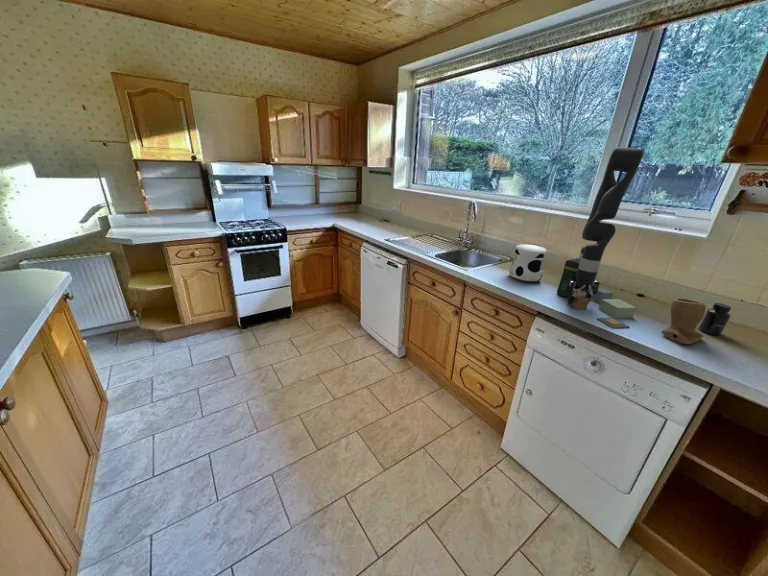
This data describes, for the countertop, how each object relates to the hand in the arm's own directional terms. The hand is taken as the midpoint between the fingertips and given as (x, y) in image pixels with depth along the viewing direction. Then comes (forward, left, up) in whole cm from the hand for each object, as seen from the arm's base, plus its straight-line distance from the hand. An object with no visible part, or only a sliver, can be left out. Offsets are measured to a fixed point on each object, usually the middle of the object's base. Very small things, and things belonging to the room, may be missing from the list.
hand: (578, 302), depth 144 cm
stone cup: (+28, +22, -3) cm, 35 cm away
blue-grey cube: (-6, +18, -2) cm, 19 cm away
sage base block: (+7, +14, -3) cm, 16 cm away
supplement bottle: (+26, +40, -3) cm, 48 cm away
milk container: (-37, -3, -3) cm, 37 cm away
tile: (+16, +4, -2) cm, 16 cm away
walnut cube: (0, 0, -2) cm, 2 cm away
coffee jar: (-14, +6, -3) cm, 16 cm away
